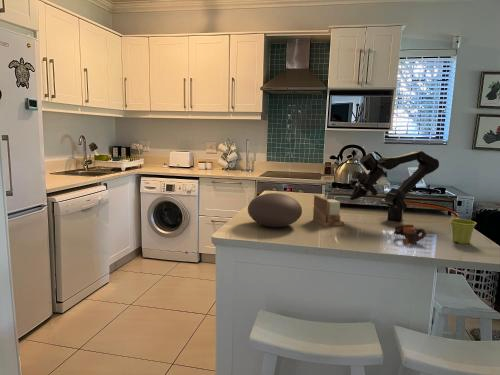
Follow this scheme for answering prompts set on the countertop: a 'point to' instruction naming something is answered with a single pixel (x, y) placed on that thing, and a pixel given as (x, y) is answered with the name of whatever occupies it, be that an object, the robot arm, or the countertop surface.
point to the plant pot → (462, 230)
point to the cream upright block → (332, 207)
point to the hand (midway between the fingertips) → (350, 199)
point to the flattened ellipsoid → (274, 210)
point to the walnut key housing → (324, 213)
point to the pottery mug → (409, 233)
